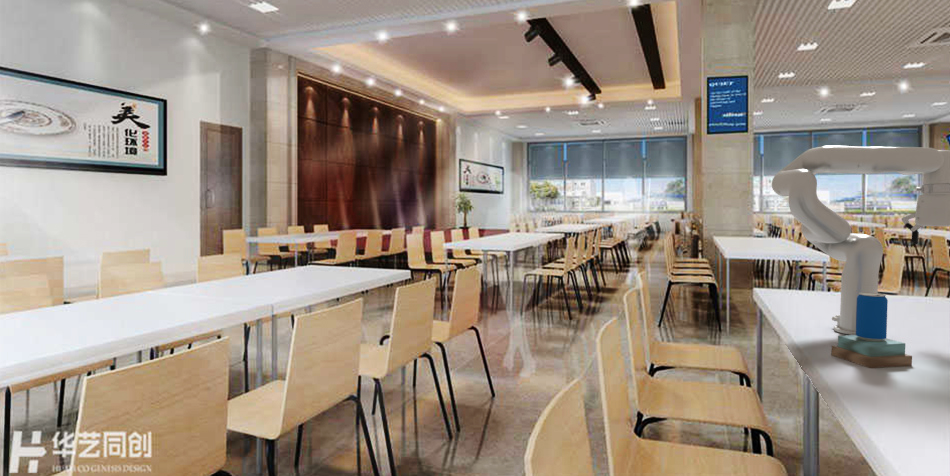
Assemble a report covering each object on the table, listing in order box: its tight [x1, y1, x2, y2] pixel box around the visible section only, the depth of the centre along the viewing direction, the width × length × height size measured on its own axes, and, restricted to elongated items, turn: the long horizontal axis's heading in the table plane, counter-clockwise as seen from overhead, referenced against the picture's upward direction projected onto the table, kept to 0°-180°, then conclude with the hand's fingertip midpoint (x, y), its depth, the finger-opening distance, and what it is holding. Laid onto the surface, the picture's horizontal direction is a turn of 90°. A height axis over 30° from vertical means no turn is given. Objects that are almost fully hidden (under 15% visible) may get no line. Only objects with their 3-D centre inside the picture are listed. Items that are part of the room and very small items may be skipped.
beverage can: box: [856, 292, 889, 342], centre depth 138 cm, size 6×6×12 cm
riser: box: [830, 334, 913, 369], centre depth 139 cm, size 12×12×6 cm
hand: (935, 244), depth 166 cm, fingers open, 9 cm apart
